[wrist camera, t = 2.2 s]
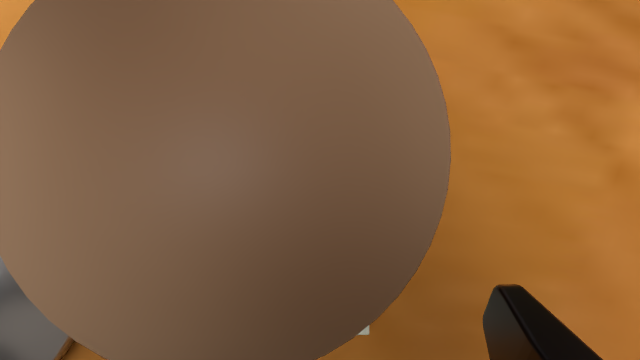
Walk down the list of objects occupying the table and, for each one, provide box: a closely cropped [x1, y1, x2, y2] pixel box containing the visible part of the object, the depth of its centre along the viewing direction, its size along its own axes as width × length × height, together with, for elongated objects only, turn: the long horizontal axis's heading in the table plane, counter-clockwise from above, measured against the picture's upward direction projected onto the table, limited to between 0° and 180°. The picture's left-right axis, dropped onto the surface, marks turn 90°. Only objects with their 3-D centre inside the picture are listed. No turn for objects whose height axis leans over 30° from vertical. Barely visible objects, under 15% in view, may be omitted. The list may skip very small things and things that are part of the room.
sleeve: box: [0, 0, 451, 360], centre depth 12 cm, size 5×5×13 cm
